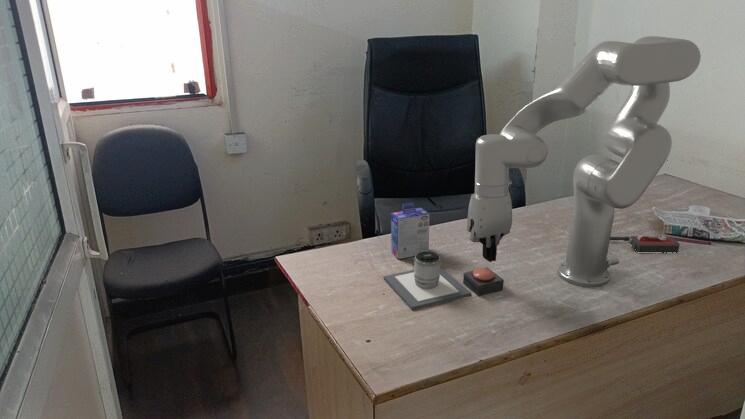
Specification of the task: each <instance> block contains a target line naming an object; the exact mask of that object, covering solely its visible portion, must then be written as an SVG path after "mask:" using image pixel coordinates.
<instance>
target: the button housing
mask: <svg viewBox="0 0 745 419" xmlns="http://www.w3.org/2000/svg"><path fill="white" fill-rule="evenodd" d="M483 268H484V269H489V270H491V271H493V270H492V269H490V268H489V267H488V266H487V267H483ZM474 270H475V269H474ZM474 270H470V271H465V272H463V280H462V281H463V282H462V285H465V286H466V287H467V288H468V289H469V291H470V290H471V291H472V292H473V293H474V294H475V295H476V296H477V297H481V296H482V297H483V296H486V295H489V294H495V293H498V292H502V291H503V290H504V283H505V282H504V281H505V280H504V279H503V277H501V276H499V275H498V274H497V273H496V272H494V274H495V275H494V278H493V279H491V280H487V281H483V282H480V281H479V280H478V279H477V278H475V277H474V276H473V271H474Z"/></svg>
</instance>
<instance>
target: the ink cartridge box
mask: <svg viewBox="0 0 745 419" xmlns="http://www.w3.org/2000/svg"><path fill="white" fill-rule="evenodd" d="M401 206H402V211H401V210H400V211H397V212H390V229H391V231H390V234H391V235H390V236H391V237H390V238H391V239H390V240H391V244H390V245H391V246H390V247H391V254H392V255H393V256H394V257H395V258H396V259H397V260H401V259H405V258H411V257H415V256H416V255H417V254H418V253H421V252H430V251H429V250H430V217H431V216H430V212H428V211H427V210H425V209H424V208H422V207H417V208H416V205H415V203H414V202H406V203H402V204H401ZM408 206H410V208H406V207H408Z"/></svg>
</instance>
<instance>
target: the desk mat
mask: <svg viewBox="0 0 745 419" xmlns="http://www.w3.org/2000/svg"><path fill="white" fill-rule="evenodd" d="M383 280H384V282H386V284H387V285H388V286H389V287H390V289H391V290H393V292H394V293H396V295H397V296H398V297H399V298H400V299H401V300H402V301H403V303H405V305H406V306H407V307H408V308H409V309H410V310H411V311H414V310H418V309H422V308H426V307H427V308H428V307H430V306H434V305H439V304H443V303H446V302H451V301H455V300H459V299H463V298H467V297H471V296H472V292H471V291H470V290H468V289H467V288H466V287H465V286H464V284H462V283H461V282H459V281H458V280H457V279H456V278H455V277H453V275H451V274H450V273H449V272H448V271H447V270H445V269H444V268H443V267H441V265H440V278H439V282H438V285H437V287H435V288H432V289H423V288H420V287H418V286H417V285H416V284H415V279H414V269H413V270H412V269H411V270H408V271H403V272H398V273H394V274H393V273H391V274H388V275H384V276H383Z"/></svg>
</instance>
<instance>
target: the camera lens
mask: <svg viewBox="0 0 745 419" xmlns="http://www.w3.org/2000/svg"><path fill="white" fill-rule="evenodd" d="M440 266H441V257H440V256H439V255H438V254H437V253H436V252H432V251H429V252H421V253H418V254H417V255H416V256H414V269H413V270H414V279H415V284H416V285H417V286H418V287H420V288H423V289H432V288H435V287H437V285H438V282H439V278H440Z"/></svg>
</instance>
